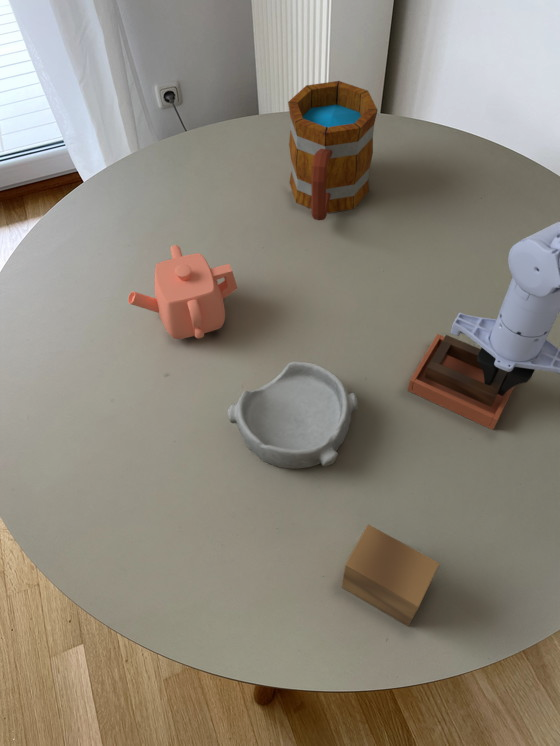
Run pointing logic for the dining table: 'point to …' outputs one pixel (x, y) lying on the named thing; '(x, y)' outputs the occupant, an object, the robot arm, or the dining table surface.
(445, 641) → the dining table surface
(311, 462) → the dish
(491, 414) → the holder
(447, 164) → the dining table surface
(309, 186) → the mug
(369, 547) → the stand
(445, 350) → the frame
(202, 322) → the teapot
